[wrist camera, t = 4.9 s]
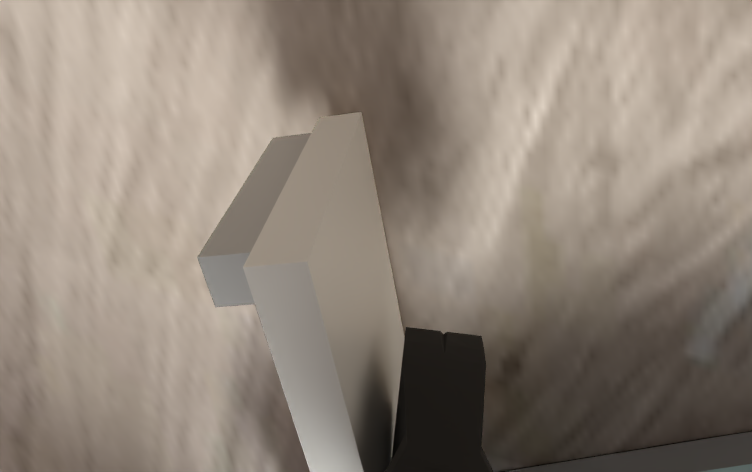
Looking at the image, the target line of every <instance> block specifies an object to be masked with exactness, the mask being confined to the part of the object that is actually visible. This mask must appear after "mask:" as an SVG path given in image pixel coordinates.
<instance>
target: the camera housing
mask: <svg viewBox="0 0 752 472" xmlns="http://www.w3.org/2000/svg"><path fill="white" fill-rule="evenodd" d="M504 472H752V432H746V433H739V434H733V435H727V436H721V437H715V438H708V439H702V440H696V441H690V442H684V443H678V444H671V445H665V446H659V447H653V448H647V449H640V450H634V451H628V452H622V453H616V454H610V455H603V456H597V457H591V458H585V459H579V460H572V461H566V462H560V463H554V464H548V465H542V466H535V467H529V468H523V469H517V470H511V471H504Z"/></svg>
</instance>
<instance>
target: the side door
mask: <svg viewBox="0 0 752 472" xmlns="http://www.w3.org/2000/svg"><path fill="white" fill-rule="evenodd" d="M197 258H198V261H199V264H200V266H201V269H202V272H203V274H204V277H205V280H206V283H207V285H208V288H209V291H210V294H211V296H212V299H213V302H214V304H215V307H224V306H237V305H250V304H255V306H256V309H257V312H258V315H259V318H260V321H261V324H262V327H263V330H264V333H265V337H266V340H267V343H268V346H269V349H270V352H271V355H272V358H273V361H274V364H275V367H276V370H277V373H278V376H279V379H280V382H281V385H282V388H283V391H284V394H285V397H286V400H287V404H288V407H289V410H290V413H291V416H292V419H293V422H294V425H295V428H296V431H297V434H298V437H299V440H300V443H301V446H302V449H303V452H304V455H305V458H306V461H307V464H308V468H309V471H310V472H385V470H386V469H387V467H388V465H389V464H390V462H391V459H392V450H393V441H394V431H395V422H396V413H397V404H398V394H399V385H400V376H401V367H402V357H403V348H404V340H405V337H404V332H403V326H402V321H401V316H400V311H399V305H398V300H397V295H396V290H395V284H394V279H393V274H392V269H391V264H390V258H389V253H388V248H387V243H386V237H385V232H384V227H383V222H382V216H381V211H380V206H379V201H378V196H377V190H376V185H375V180H374V175H373V169H372V164H371V159H370V154H369V148H368V143H367V138H366V133H365V128H364V122H363V117H362V112H357V113H349V114H341V115H334V116H326V117H319V119H318V121H317V123H316V125H315V127H314V129H313V131H312V133H308V134H300V135H292V136H284V137H276V138H273V139H272V140H271V142H270V143H269V145H268V146H267V148H266V150H265V151H264V153H263V154H262V156H261V158H260V159H259V161H258V162H257V164H256V165H255V167H254V169H253V170H252V172H251V173H250V175H249V177H248V178H247V180H246V181H245V183H244V184H243V186H242V188H241V189H240V191H239V192H238V194H237V195H236V197H235V199H234V200H233V202H232V203H231V205H230V207H229V208H228V210H227V211H226V213H225V214H224V216H223V218H222V219H221V221H220V222H219V224H218V225H217V227H216V229H215V230H214V232H213V233H212V235H211V237H210V238H209V240H208V241H207V243H206V244H205V246H204V248H203V249H202V251H201V252H200V254H199V255H198V257H197Z"/></svg>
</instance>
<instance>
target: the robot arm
mask: <svg viewBox="0 0 752 472" xmlns="http://www.w3.org/2000/svg"><path fill="white" fill-rule="evenodd" d="M485 372H486V361H485V354H484V347H483V341H482V336H476V335H468V334H459V333H451V332H447V333H445V334H442V333H441V331H434V330H426V329H417V328H409V327H406V331H405V340H404V348H403V357H402V367H401V376H400V385H399V394H398V404H397V413H396V422H395V431H394V441H393V450H392V459H391V462H390V464H389V465H388V467H387V469H386V470H385V472H493V471H492V468H491V466H490V464H489V462H488V460H487V458H486V456H485V454H484V452H483V449H482V447H481V440H482V424H483V407H484V390H485Z"/></svg>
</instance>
